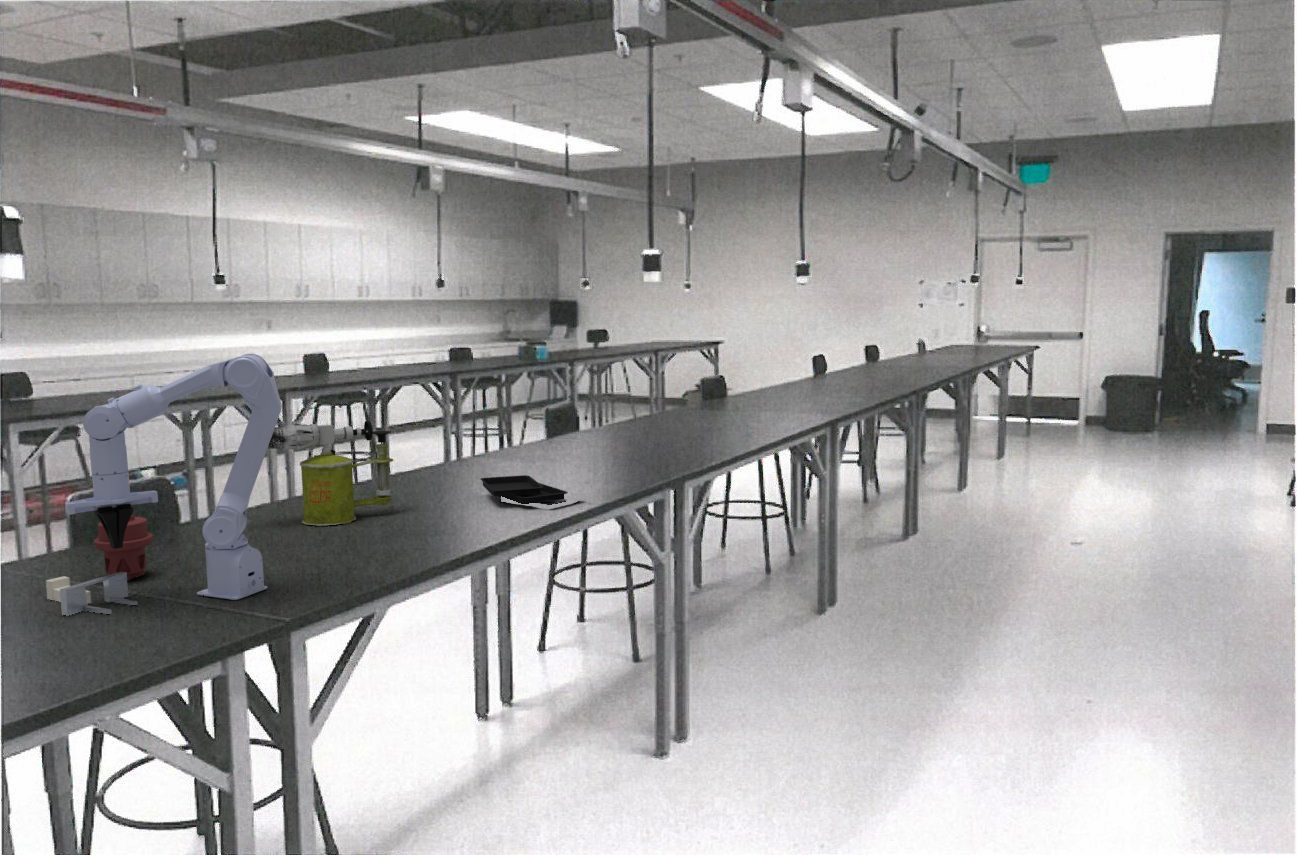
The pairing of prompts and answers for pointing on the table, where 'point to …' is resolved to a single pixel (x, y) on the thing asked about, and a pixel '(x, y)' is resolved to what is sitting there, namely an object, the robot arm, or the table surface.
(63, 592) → the housing
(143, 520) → the mechanical component
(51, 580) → the cream l-shaped block
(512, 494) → the tray
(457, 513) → the table surface
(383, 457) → the blowtorch
